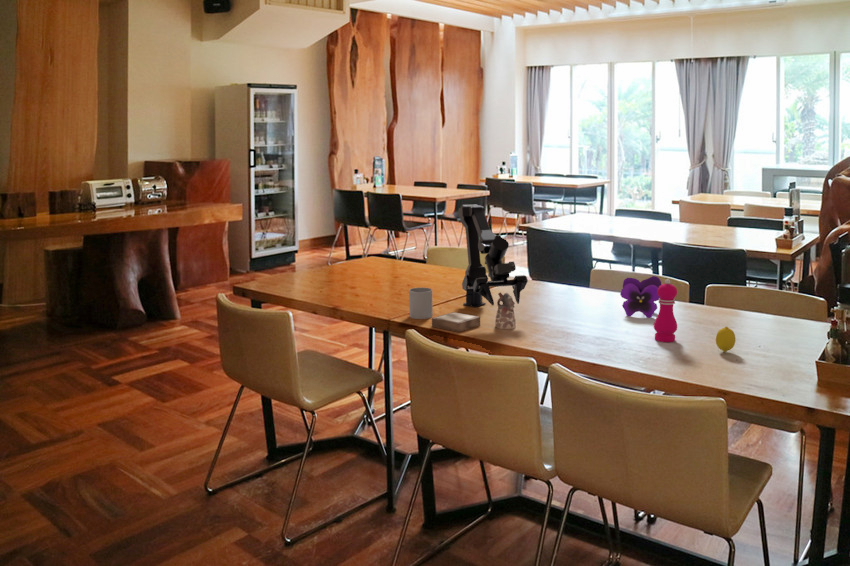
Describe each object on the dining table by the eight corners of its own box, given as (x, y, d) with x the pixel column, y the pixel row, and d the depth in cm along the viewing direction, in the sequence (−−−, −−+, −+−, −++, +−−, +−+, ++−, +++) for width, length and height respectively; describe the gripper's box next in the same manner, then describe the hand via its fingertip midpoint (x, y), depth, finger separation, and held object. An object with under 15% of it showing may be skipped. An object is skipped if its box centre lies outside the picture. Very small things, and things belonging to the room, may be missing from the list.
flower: (621, 322, 291) (617, 313, 279) (625, 285, 295) (621, 274, 283) (661, 326, 286) (659, 316, 274) (665, 287, 289) (662, 276, 277)
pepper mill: (649, 337, 251) (652, 277, 247) (671, 336, 252) (674, 276, 248) (658, 343, 244) (661, 281, 240) (680, 342, 245) (683, 280, 241)
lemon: (717, 348, 237) (719, 323, 236) (736, 351, 234) (738, 326, 233) (712, 353, 233) (714, 327, 231) (732, 355, 230) (733, 330, 228)
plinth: (453, 320, 277) (453, 311, 277) (480, 325, 269) (480, 316, 269) (431, 326, 268) (431, 317, 268) (458, 332, 261) (458, 323, 260)
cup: (429, 319, 279) (429, 292, 277) (407, 318, 280) (407, 291, 278) (434, 314, 287) (433, 287, 285) (412, 313, 288) (412, 287, 286)
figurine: (510, 330, 262) (510, 295, 260) (491, 327, 266) (491, 293, 264) (519, 325, 268) (519, 292, 266) (500, 323, 272) (501, 290, 270)
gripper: (475, 255, 265) (485, 292, 257) (526, 252, 269) (537, 289, 261) (468, 273, 274) (478, 310, 266) (518, 270, 278) (528, 307, 270)
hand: (505, 304), depth 265 cm, fingers open, 9 cm apart
